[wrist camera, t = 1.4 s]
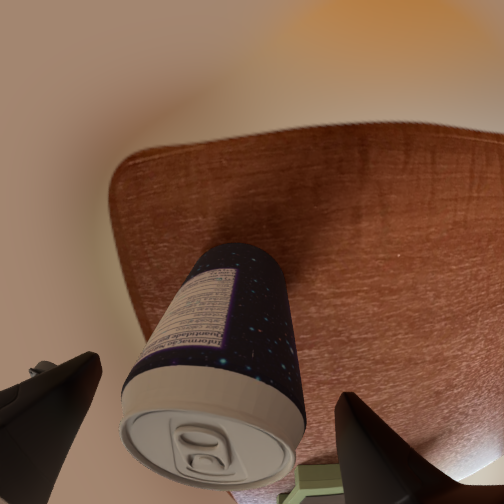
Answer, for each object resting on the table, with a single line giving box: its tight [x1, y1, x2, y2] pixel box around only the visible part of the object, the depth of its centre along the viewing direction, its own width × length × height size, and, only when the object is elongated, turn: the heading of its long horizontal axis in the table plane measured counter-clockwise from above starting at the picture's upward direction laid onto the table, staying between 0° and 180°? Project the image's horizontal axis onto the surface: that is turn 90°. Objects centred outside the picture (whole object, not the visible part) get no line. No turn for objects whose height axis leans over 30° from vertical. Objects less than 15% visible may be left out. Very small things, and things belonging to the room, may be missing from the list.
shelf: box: [277, 464, 345, 504], centre depth 24 cm, size 16×12×5 cm
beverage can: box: [119, 243, 307, 491], centre depth 12 cm, size 6×6×12 cm
